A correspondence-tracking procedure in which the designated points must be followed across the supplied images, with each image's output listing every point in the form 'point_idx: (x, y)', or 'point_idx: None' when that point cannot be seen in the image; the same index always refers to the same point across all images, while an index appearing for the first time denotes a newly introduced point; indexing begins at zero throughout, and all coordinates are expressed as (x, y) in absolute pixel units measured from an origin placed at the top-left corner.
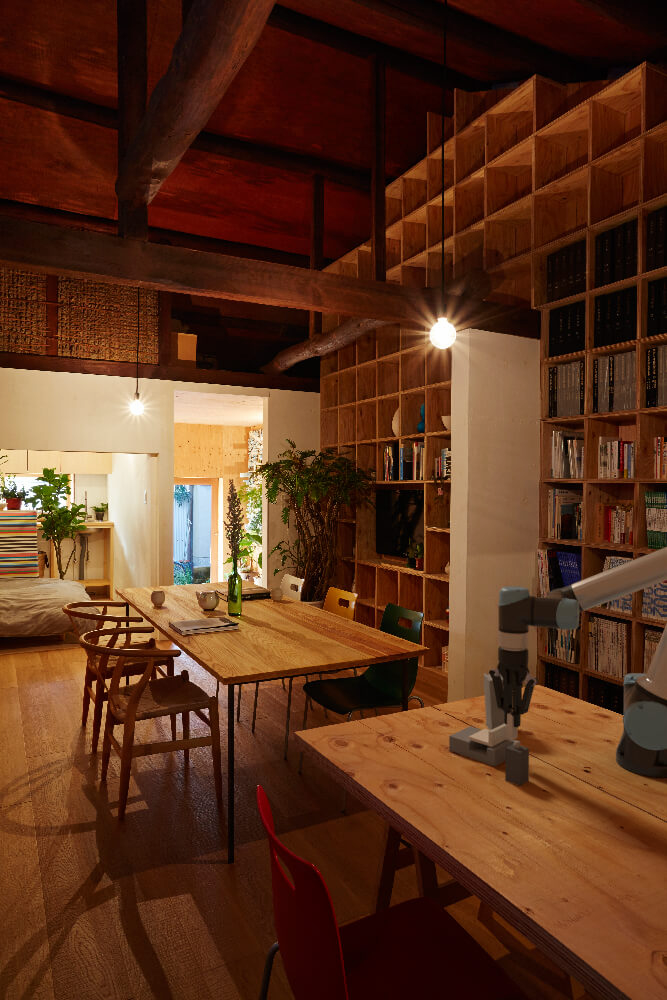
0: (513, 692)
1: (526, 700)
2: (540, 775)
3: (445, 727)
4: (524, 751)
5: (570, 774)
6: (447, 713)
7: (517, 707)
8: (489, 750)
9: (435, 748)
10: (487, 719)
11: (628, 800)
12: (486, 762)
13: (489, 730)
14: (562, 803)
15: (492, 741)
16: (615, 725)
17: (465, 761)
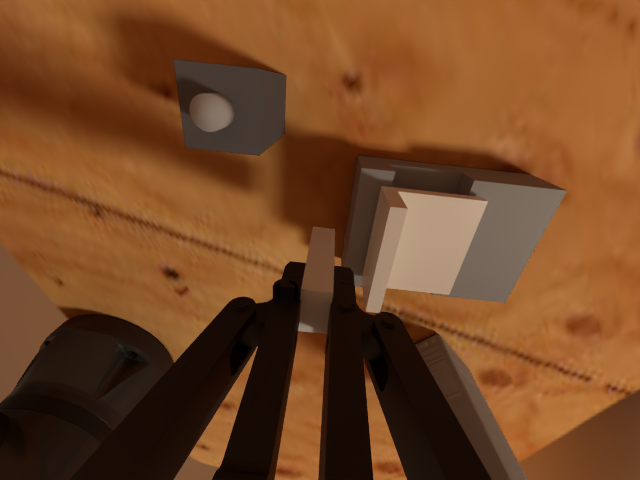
0: (270, 428)
1: (165, 375)
2: (230, 184)
3: (574, 310)
4: (181, 103)
5: (183, 237)
6: (582, 379)
7: (265, 329)
8: (383, 168)
9: (584, 160)
10: (468, 373)
11: (12, 186)
12: (388, 159)
13: (431, 289)
14: (75, 37)
15: (383, 197)
16: None
17: (455, 129)
